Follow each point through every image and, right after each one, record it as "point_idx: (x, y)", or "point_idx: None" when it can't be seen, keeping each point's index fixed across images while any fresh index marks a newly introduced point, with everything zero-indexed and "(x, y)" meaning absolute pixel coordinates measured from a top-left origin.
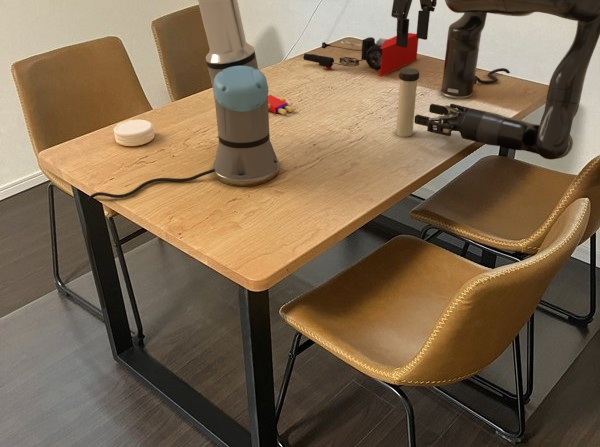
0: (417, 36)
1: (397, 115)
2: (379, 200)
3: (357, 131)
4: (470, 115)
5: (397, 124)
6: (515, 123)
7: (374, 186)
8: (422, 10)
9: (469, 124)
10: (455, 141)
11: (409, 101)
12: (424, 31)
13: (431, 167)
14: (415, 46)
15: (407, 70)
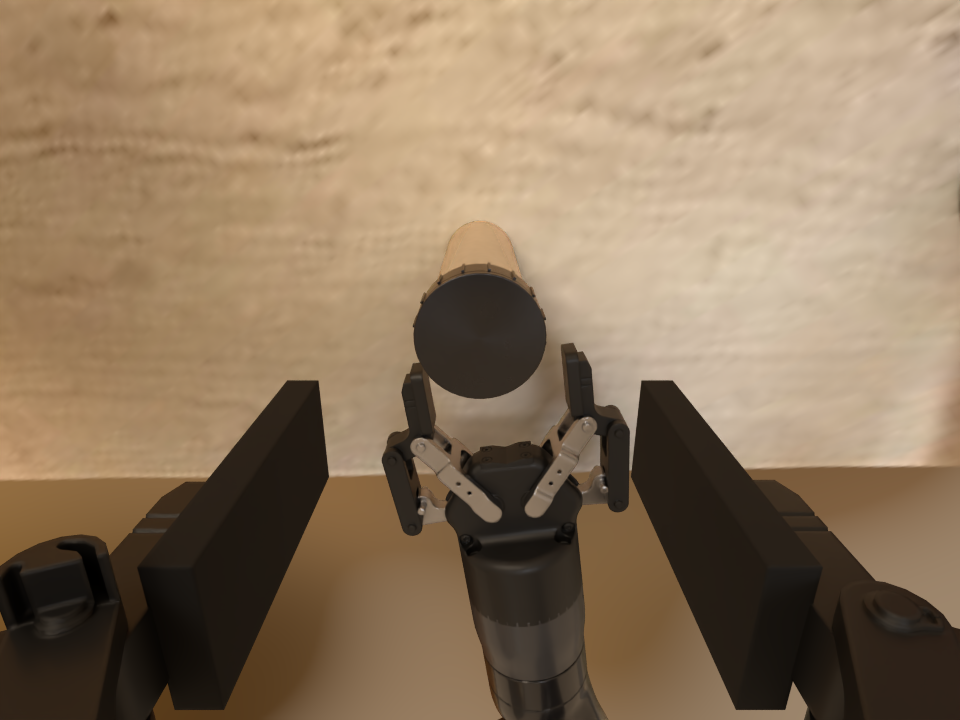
0: (643, 400)
1: (456, 240)
2: (44, 470)
3: (359, 79)
4: (487, 585)
5: (449, 244)
6: (522, 711)
7: (86, 415)
8: (813, 606)
9: (466, 575)
10: (543, 429)
11: None
12: (654, 505)
13: None
14: None
15: (482, 322)
